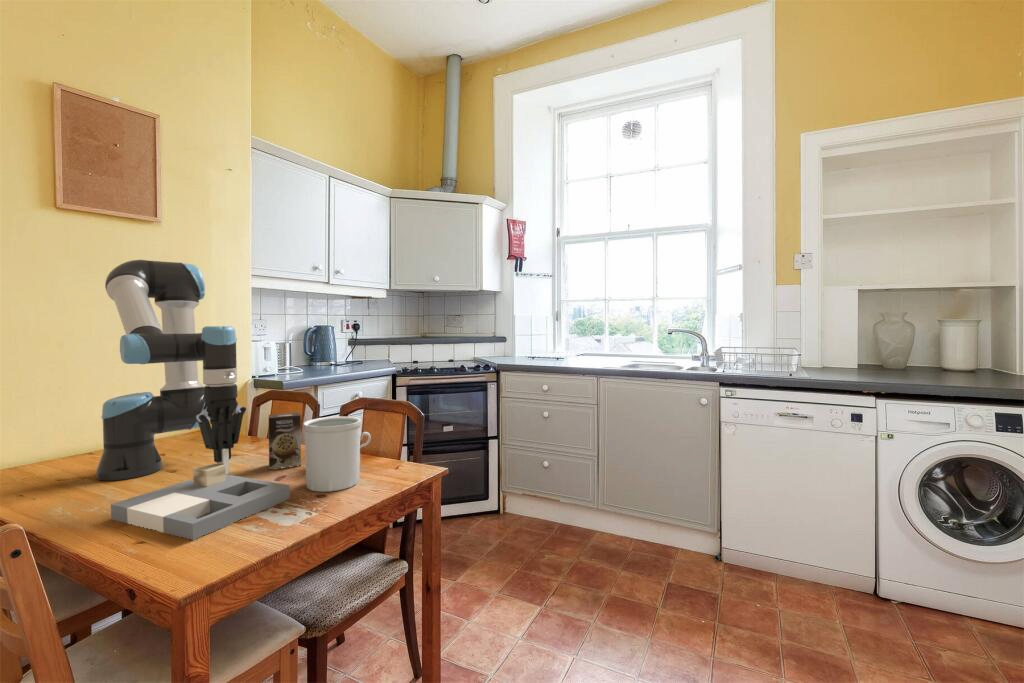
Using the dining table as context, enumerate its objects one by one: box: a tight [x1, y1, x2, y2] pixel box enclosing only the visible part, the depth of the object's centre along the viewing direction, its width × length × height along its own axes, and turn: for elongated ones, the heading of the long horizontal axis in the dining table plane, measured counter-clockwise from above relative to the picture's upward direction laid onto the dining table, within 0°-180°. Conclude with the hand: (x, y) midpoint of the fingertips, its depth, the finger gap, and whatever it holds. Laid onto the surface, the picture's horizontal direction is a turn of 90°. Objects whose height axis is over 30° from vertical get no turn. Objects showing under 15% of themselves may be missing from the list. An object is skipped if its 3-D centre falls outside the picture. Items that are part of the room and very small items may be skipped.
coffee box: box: [268, 412, 302, 470], centre depth 143 cm, size 9×6×16 cm
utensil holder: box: [302, 416, 362, 493], centre depth 126 cm, size 15×15×18 cm
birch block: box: [192, 463, 226, 487], centre depth 117 cm, size 5×5×4 cm
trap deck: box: [110, 473, 291, 541], centre depth 109 cm, size 28×24×4 cm
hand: (223, 472), depth 121 cm, fingers closed
